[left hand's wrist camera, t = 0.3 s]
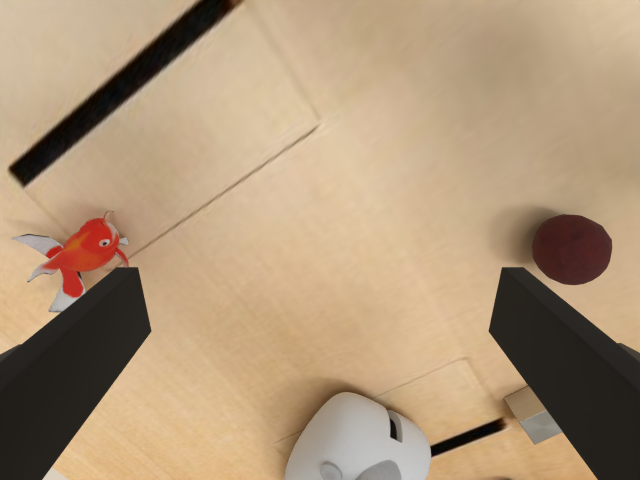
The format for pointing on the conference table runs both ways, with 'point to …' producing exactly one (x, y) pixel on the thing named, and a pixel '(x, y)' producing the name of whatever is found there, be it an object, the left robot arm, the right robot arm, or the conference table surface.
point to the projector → (359, 444)
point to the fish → (76, 257)
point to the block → (532, 415)
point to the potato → (572, 249)
